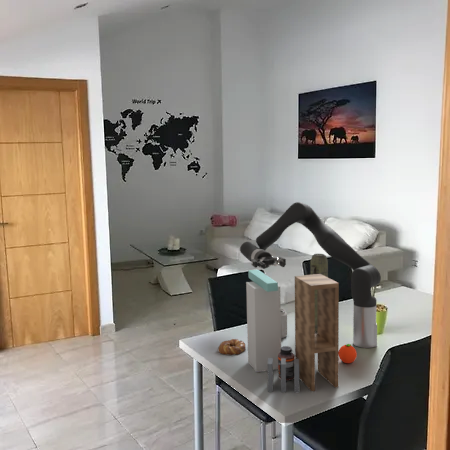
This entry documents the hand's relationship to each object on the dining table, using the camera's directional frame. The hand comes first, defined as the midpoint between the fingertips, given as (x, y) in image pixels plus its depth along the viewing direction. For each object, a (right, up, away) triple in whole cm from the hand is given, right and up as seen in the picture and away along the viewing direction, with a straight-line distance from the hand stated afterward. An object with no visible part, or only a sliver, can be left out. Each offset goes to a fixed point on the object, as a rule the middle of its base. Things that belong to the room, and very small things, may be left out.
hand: (274, 265), depth 211 cm
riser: (-5, -37, -17) cm, 41 cm away
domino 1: (-5, -40, -37) cm, 54 cm away
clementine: (+27, -36, -17) cm, 48 cm away
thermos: (+22, -31, +20) cm, 43 cm away
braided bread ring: (-18, -36, -1) cm, 40 cm away
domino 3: (+4, -40, -38) cm, 55 cm away
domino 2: (0, -40, -37) cm, 54 cm away
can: (+3, -33, +13) cm, 35 cm away
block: (-7, -5, -21) cm, 23 cm away
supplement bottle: (+2, -39, -29) cm, 48 cm away
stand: (+12, -38, -32) cm, 51 cm away
